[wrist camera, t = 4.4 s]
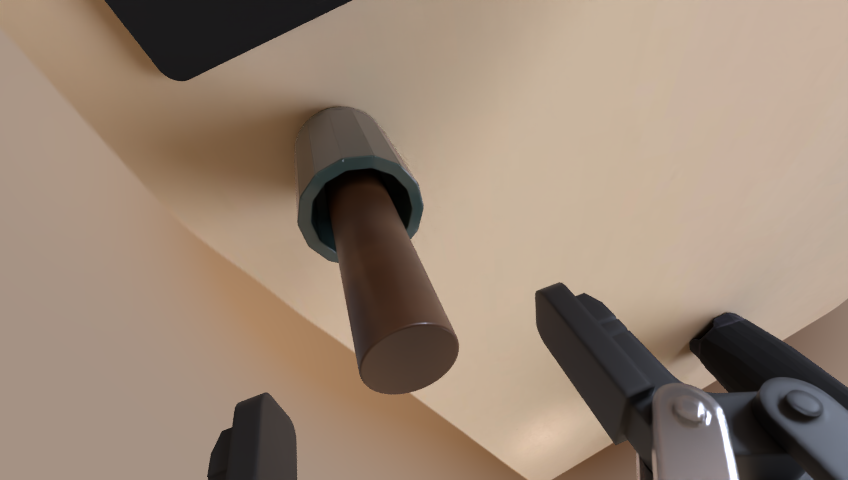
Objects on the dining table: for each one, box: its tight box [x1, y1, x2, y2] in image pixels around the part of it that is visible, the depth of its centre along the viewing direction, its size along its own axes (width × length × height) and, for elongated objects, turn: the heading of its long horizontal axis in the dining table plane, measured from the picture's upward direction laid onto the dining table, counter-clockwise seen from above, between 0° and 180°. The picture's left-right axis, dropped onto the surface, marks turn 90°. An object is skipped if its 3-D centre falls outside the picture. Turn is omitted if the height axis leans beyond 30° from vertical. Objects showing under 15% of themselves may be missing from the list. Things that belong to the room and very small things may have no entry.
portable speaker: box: [690, 313, 848, 410], centre depth 46 cm, size 9×9×20 cm
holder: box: [294, 107, 424, 263], centre depth 21 cm, size 6×6×8 cm
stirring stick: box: [324, 168, 459, 394], centre depth 17 cm, size 3×3×16 cm
